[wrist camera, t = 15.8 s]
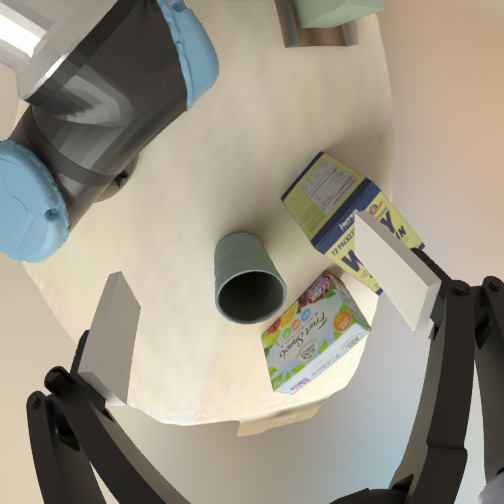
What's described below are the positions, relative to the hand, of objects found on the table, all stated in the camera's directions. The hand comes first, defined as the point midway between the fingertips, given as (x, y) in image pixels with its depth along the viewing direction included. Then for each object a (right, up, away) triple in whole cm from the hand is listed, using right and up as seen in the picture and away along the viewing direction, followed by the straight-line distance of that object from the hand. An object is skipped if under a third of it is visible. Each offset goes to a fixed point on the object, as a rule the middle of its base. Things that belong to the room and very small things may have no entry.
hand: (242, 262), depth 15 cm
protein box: (+14, +9, +32) cm, 36 cm away
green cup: (-1, 0, +34) cm, 34 cm away
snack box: (+10, -11, +44) cm, 46 cm away
